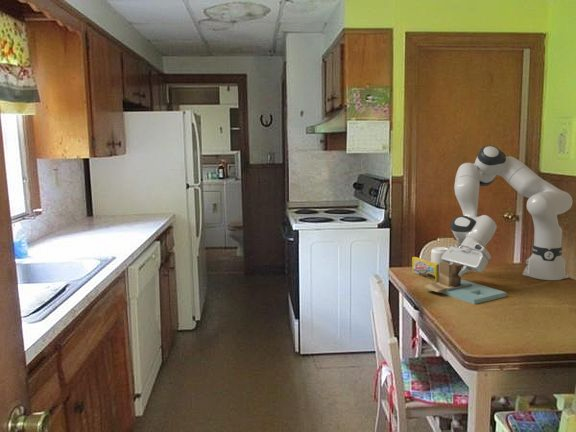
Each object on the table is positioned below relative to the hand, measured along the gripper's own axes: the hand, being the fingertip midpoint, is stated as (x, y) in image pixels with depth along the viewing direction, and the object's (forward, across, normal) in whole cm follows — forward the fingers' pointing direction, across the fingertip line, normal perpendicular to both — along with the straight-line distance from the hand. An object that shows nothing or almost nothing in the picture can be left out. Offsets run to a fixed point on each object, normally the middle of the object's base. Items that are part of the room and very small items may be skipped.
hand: (453, 274), depth 212 cm
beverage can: (-6, -23, +16) cm, 29 cm away
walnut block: (+3, 0, +4) cm, 5 cm away
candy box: (+2, -22, +9) cm, 23 cm away
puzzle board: (+4, +7, +5) cm, 10 cm away
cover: (+9, 0, -3) cm, 10 cm away
